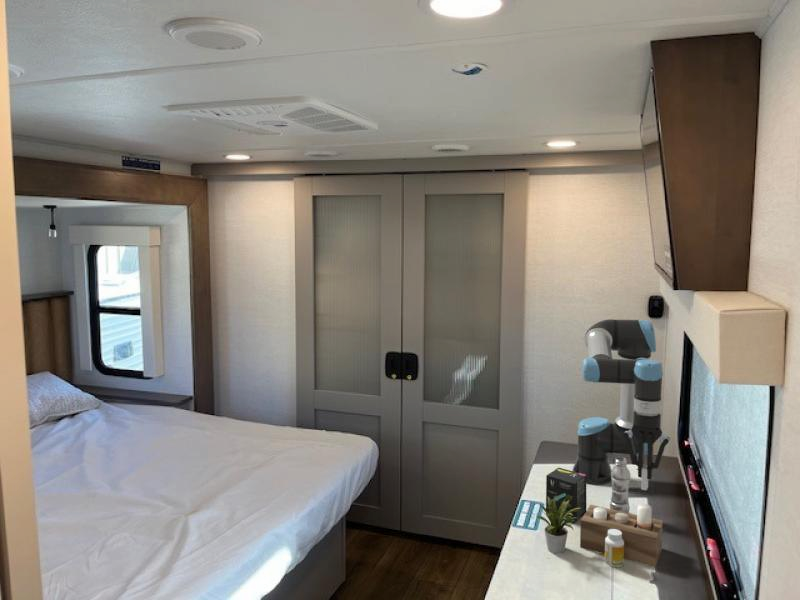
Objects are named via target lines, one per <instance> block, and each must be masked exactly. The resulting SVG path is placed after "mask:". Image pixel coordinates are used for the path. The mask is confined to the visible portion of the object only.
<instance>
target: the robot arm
mask: <svg viewBox="0 0 800 600" xmlns="http://www.w3.org/2000/svg"><path fill="white" fill-rule="evenodd" d="M584 344H585V347H586V349H587V352H588V357H586V358H584V359H583V360H582V379H583V381H585V382H590V383H594V384H595V383H596V384H597V383H603V384H604V383H605V384H606V383H607V384H620V398H619V399H620V400H619V415H618V416H617V417H616V418H615V419H614V420H615V422H614V423H611V422H610V419H608V418H606V417H600V416H596V417H595V416H594V417H593V416H592V417H587V418H584V419H582V420H581V421H579V423H578V427H577V428H578V429H577V457H576V459H575V461H574V465H573V468H572V471H573V472H577V473H581V474H584V475H587V477H586V484H587V485H588V484H590V485H605V484H608V483H612V479H611V471H612V467H611V465H610V461H609V454H611V455H612V454H613V455H622V456H629V457H630V461H631V464H632V465H635V466H636V467H637V477H638V478H640V479H641V480H640V481H641V484H640V485H641V486H640V489H641V490H642V491H647V490H648V488H649V480H651V479H652V478H653V470H654V469H659V466H660V464H661V461H662V458H663V457H662V456H663V455H664V451H665V449H666V446H667V445H668V443H669V442H670V440H671V438H670V437H669V436H666V435H665V434H663V431H662V428H661V420H662V415H661V412H662V388H663V387H662V386H663V376H664V371H663V364H662V363H661V362H660V361H658V360H655V359H651V357H652V353H655V352H656V351H657V342H656V334H655V328H654V324H653V323H652V322H651V321H650V320H645V319H643V320H641V319H613V318H612V319H611V318H610V319H609V318H608V319H604V320H601V321H598V322H596V323H594V324H593V325H591V326H590V327H589V328H587V330H586V332H585V335H584ZM612 351H616V352H617V356H618V357H619V359H618V358H617V359H616V358H613V354H612ZM658 439H660V440H659V442H660V445H659V448H658V451H657V454H656V457H655V460H654V444H655V443H656V442H657V441H658ZM646 455H647V458H646V461H647V462H646V465H644V464H645V461H644V460H645V456H646ZM637 456H638V457H637Z"/></svg>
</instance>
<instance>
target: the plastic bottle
mask: <svg viewBox="0 0 800 600" xmlns="http://www.w3.org/2000/svg"><path fill="white" fill-rule="evenodd" d="M627 460H628V459H627V458H625V457H622V456H620V457H619V456H618V457H615V460H614V461H615V462H614V463H615V465H614V467H613V468H611V470H612V471H611V479H612V481H611V491H612V492H611V498H610V502H609V509H612V510H617V511H621V512H626V513H630V508H631V507H630V502H629V489H630V488H629V487H630V481H631V475H632V474H631V472H630V470H629V468H628V467H627V466H628V462H627Z"/></svg>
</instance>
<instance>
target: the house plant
mask: <svg viewBox="0 0 800 600" xmlns="http://www.w3.org/2000/svg"><path fill="white" fill-rule="evenodd" d="M568 502H569V500H568V501H566V502H565V499H564V501H563V503H562V504H561V506H560V508H559V510H558V512H557V507H556V504H555V500H554V498H553V503H554V507H553V503H552V502H551V500H550V498H549V497H548V505H549V507H548V508H549V513H550V514H549V513H548V511H547V510H546V506H544V505H543V504H541V503H540V502H539V503H538V504H539V505H540V506H541V508H542V509H543V511H541V512H543V513H544V515H545V516H546V517H547V519H546V518H545V517H544V516H542V515H536V516H535V518H536V519H538V520H539V519H540V520H542V521H543V522H545V523H547V526H544V536H545V542H546V548H547V551H548V552H550V553H552V554H555V555H559V554H562V553H564V552H565V550H566V544H567V539H568V533H569V532H568V529H567V528H569V529H572V530H573V531H574V527H573V526H572V525H571V523H570V522H573V521H575V520H573V519H574V518H578V517H573V518H572V517H571V516H568V515H569V514H571V513H572V512H575V511H574V510H576V509H580V508H575V509H572V510H570V511H567V512H564V511H565V509H566V508H567V504H568ZM546 514H547V515H546ZM564 514H565V515H564ZM563 515H564V516H563ZM571 515H573V514H571ZM562 516H563V517H562ZM561 517H562V518H561ZM566 518H570V519H568V520H567V519H566ZM565 519H566V521H564V520H565ZM569 523H570V524H569Z"/></svg>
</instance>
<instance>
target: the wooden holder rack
mask: <svg viewBox="0 0 800 600" xmlns="http://www.w3.org/2000/svg"><path fill="white" fill-rule="evenodd" d="M597 507H601V508H604V509H606V510H607V521H605V520H601V519H596V518H593V517H594V508H597ZM663 525H664V520H661V519H656V518H652V517H651V531H648V530H644V529H639V528H637V514H635V513H634V514H633V513H631V512H629V513H626V512H621V511H617V510H612V509H610V508H607V507H603V506H598V505H593V504H590V505H589V507H588V508H587V509H586V513H585V514H584V516H583V517H582V518H581V519H580V530H579V531H580V532H579V533H580V535H579V536H580V537H579V538H580V539H579V548H581V549H585V550H588V551H593V552H597V553H600V554H604V555H605V538H606V537H607V536H608V530H609V529H617V530H620V531H621V532H622V539H623V540H624V560H627V561H631V562H635V563H638V564H642V565H647V566H650V567H653V568H656V567H657V564H658V561H659V558H660V555H661V552H662V549H663V533H664V532H663V528H664V526H663Z"/></svg>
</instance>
